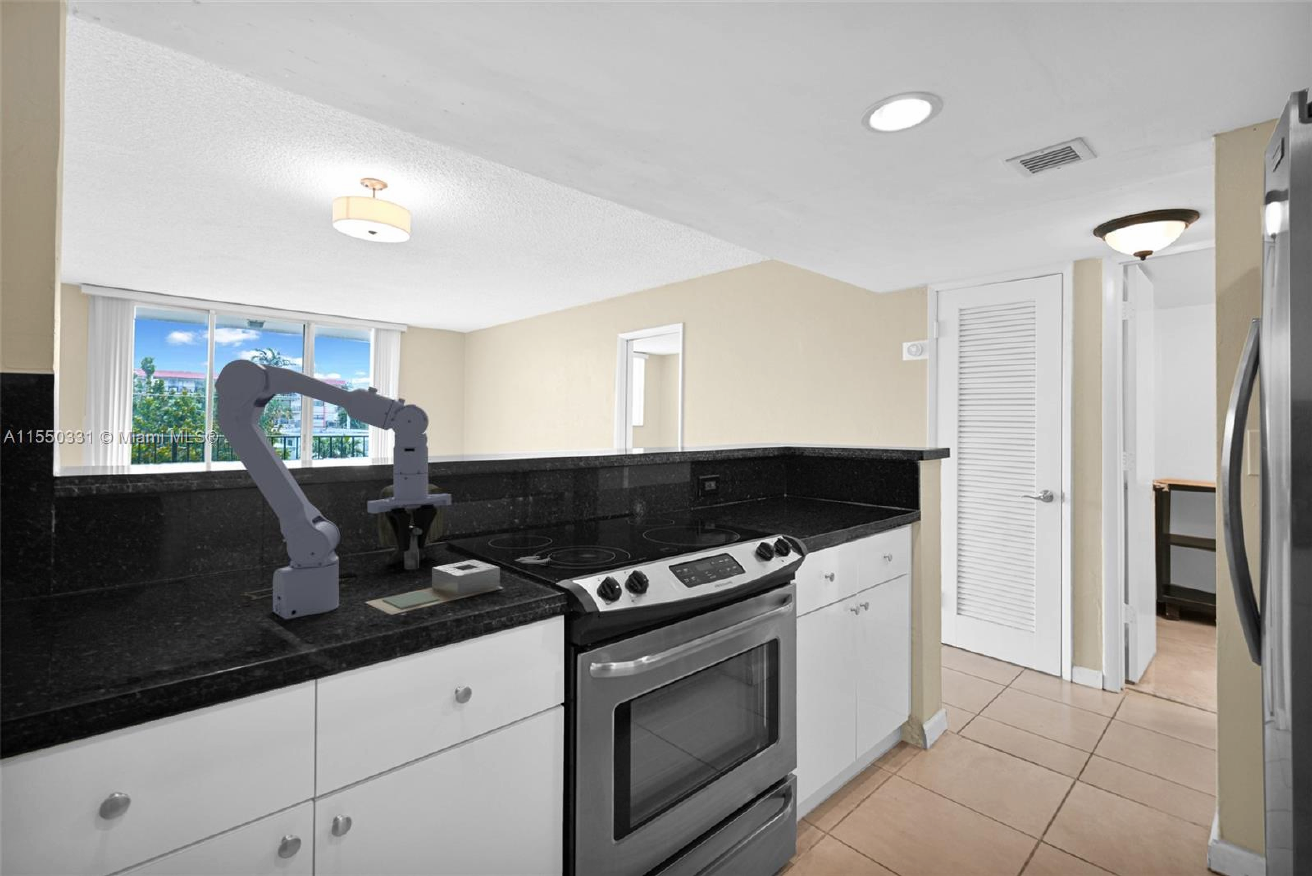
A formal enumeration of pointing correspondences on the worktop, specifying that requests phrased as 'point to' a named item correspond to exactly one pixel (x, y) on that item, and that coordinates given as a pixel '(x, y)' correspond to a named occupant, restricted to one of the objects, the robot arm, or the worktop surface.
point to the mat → (410, 600)
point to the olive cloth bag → (388, 534)
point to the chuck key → (412, 549)
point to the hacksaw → (253, 597)
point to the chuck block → (465, 578)
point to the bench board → (394, 610)
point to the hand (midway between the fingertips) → (411, 549)
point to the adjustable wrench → (532, 560)
